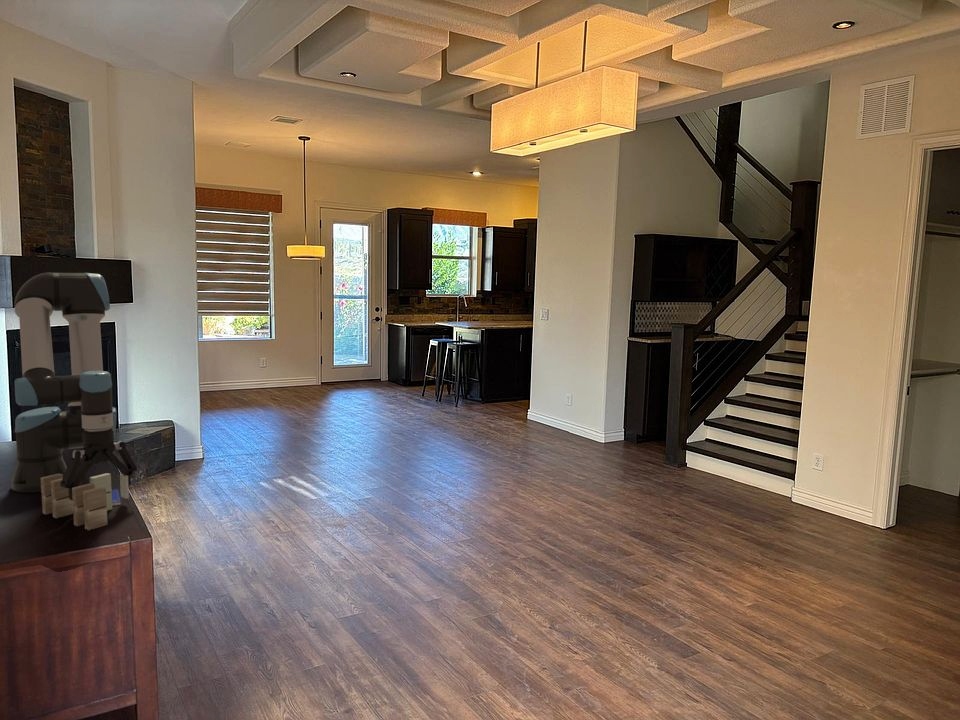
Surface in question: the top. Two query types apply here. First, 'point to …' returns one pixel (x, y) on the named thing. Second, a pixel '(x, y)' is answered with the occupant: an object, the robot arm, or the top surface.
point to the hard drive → (115, 497)
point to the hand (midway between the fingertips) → (101, 504)
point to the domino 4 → (105, 482)
